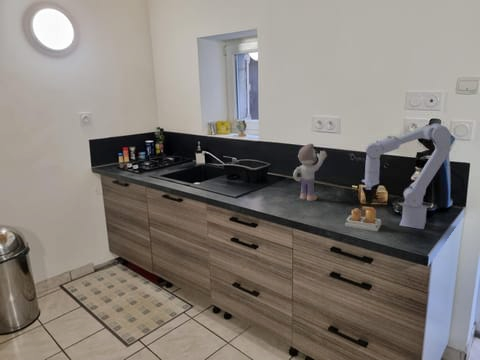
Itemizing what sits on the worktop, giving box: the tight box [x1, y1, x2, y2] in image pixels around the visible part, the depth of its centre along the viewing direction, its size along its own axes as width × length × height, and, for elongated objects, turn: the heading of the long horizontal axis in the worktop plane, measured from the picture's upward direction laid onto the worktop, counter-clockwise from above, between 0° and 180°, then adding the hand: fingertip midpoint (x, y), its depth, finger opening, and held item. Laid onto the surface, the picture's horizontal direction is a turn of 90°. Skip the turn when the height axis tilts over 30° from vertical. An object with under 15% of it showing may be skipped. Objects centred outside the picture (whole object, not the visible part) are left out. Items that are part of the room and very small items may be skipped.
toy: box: [292, 143, 328, 202], centre depth 193 cm, size 18×9×30 cm, turn 47°
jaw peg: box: [361, 206, 377, 224], centre depth 157 cm, size 5×4×7 cm
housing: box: [344, 207, 382, 232], centre depth 159 cm, size 14×8×7 cm, turn 60°
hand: (370, 201), depth 160 cm, fingers open, 7 cm apart
